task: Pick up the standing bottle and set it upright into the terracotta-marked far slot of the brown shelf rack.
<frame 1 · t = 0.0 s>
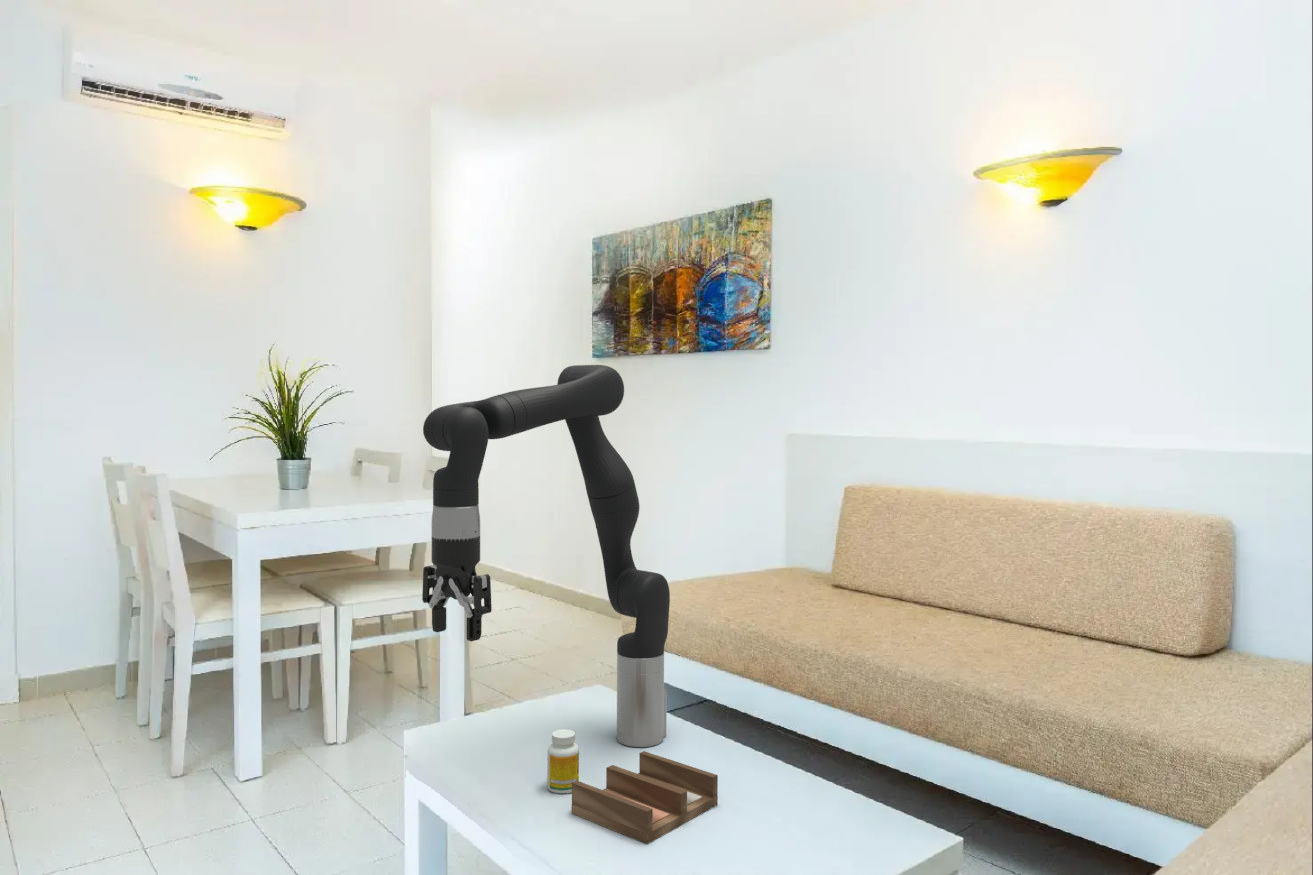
hand: (456, 635, 149), 29 cm above the table, fingers open, 8 cm apart
supplement bottle: (563, 789, 162), on the table
brown shelf rack: (645, 809, 154), on the table
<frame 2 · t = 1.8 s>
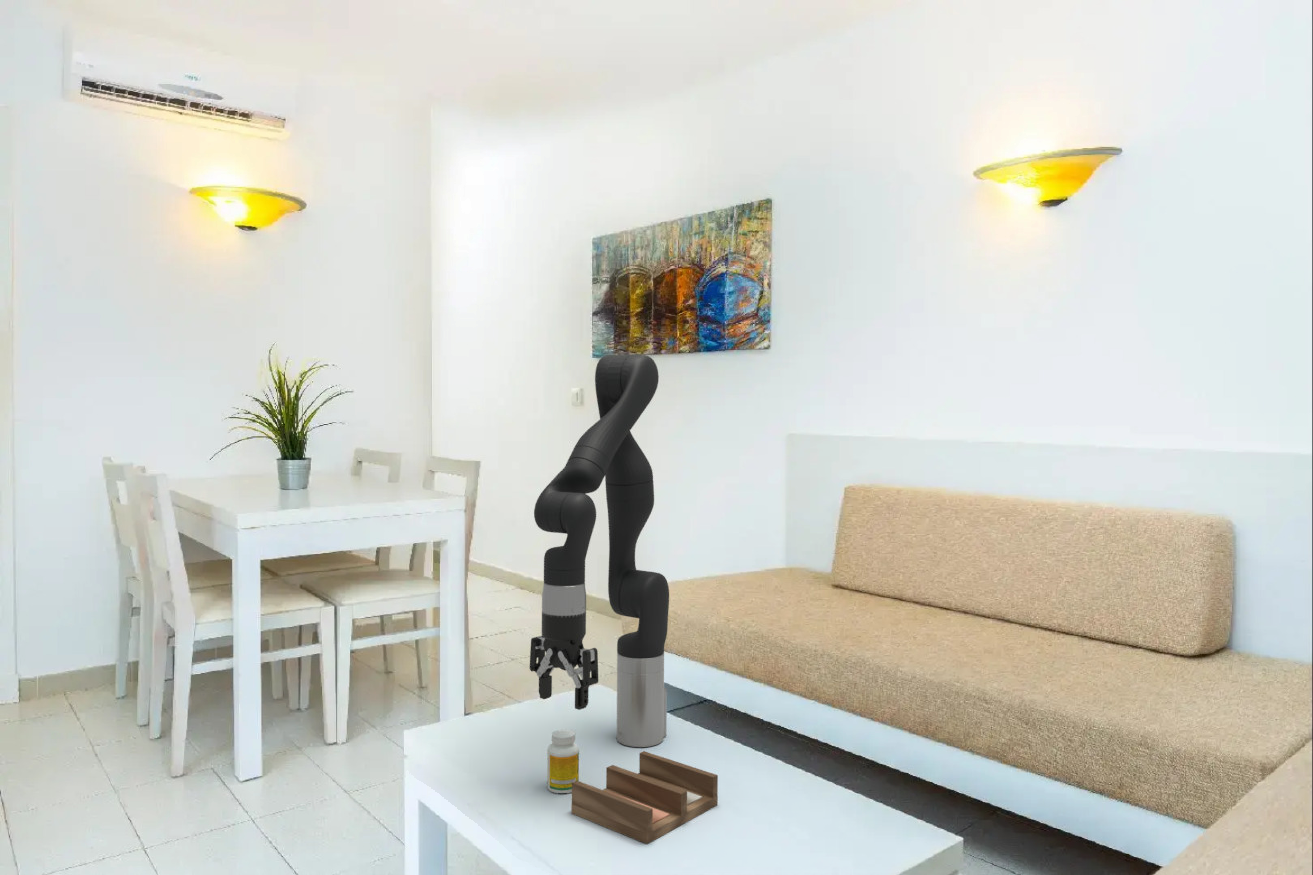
hand: (562, 703, 161), 15 cm above the table, fingers open, 8 cm apart
nothing on the table moved.
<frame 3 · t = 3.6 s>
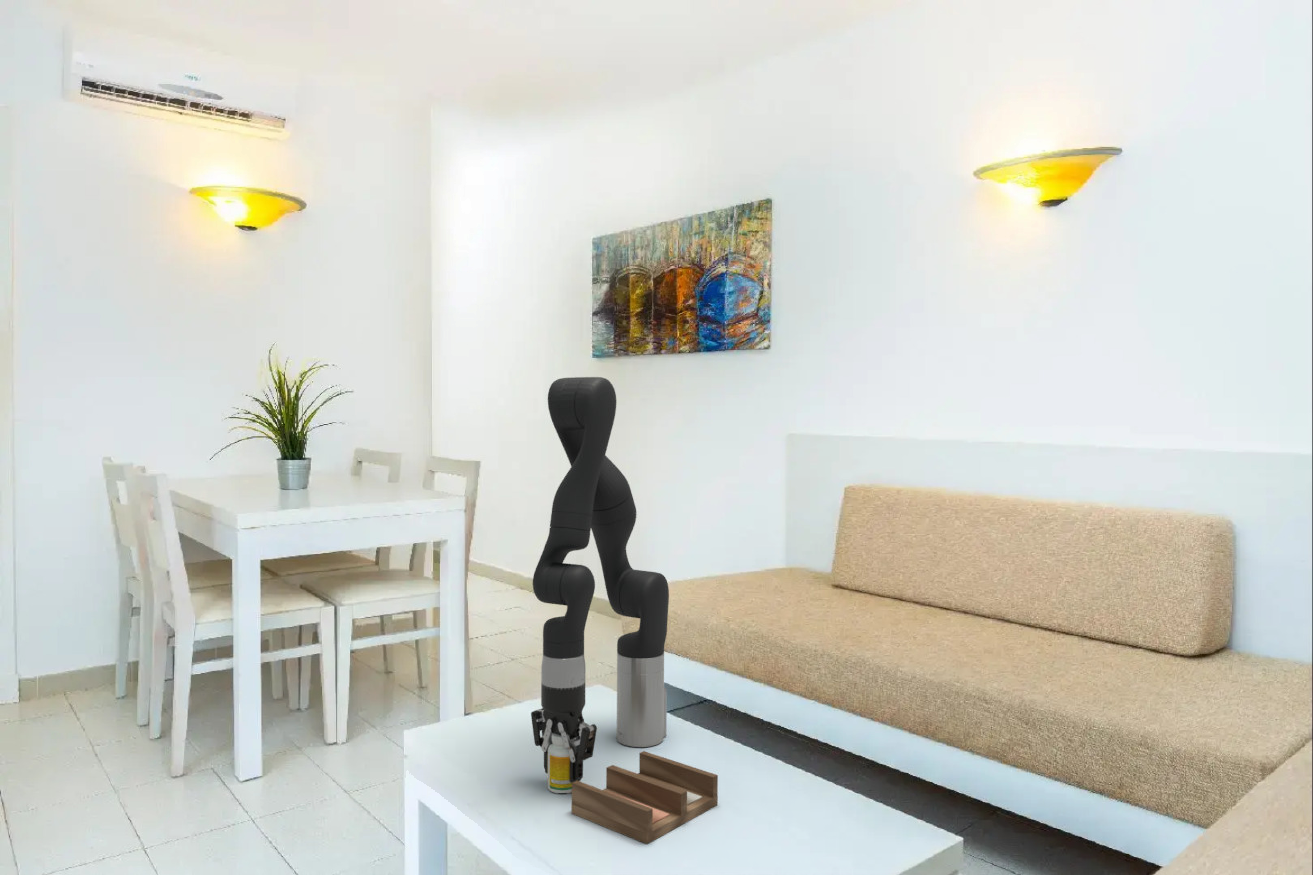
hand: (562, 776, 162), 2 cm above the table, fingers closed on supplement bottle, 5 cm apart
supplement bottle: (563, 789, 162), on the table, touching gripper
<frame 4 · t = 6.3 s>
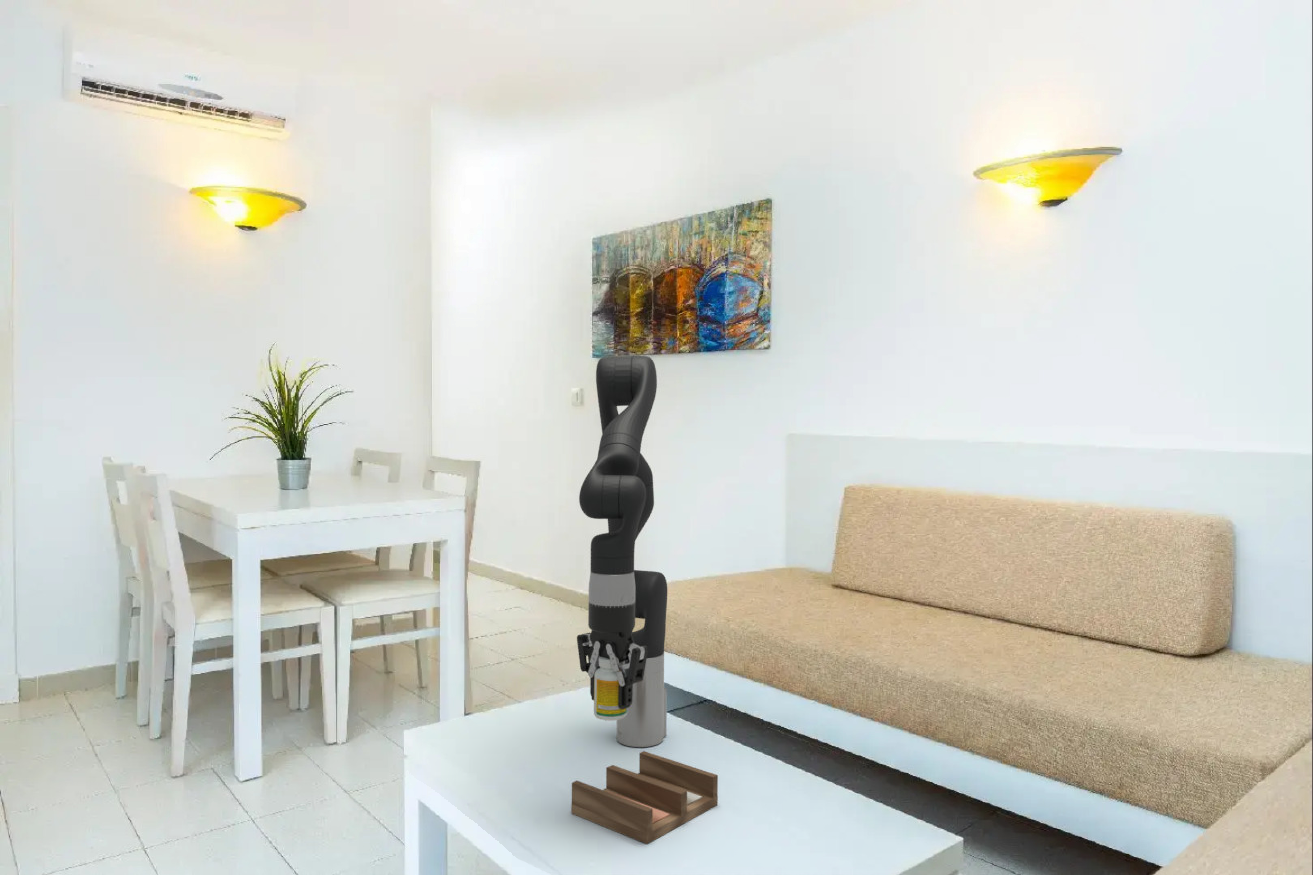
hand: (610, 703, 152), 18 cm above the table, fingers closed on supplement bottle, 5 cm apart
supplement bottle: (610, 717, 152), point 16 cm above the table, touching gripper
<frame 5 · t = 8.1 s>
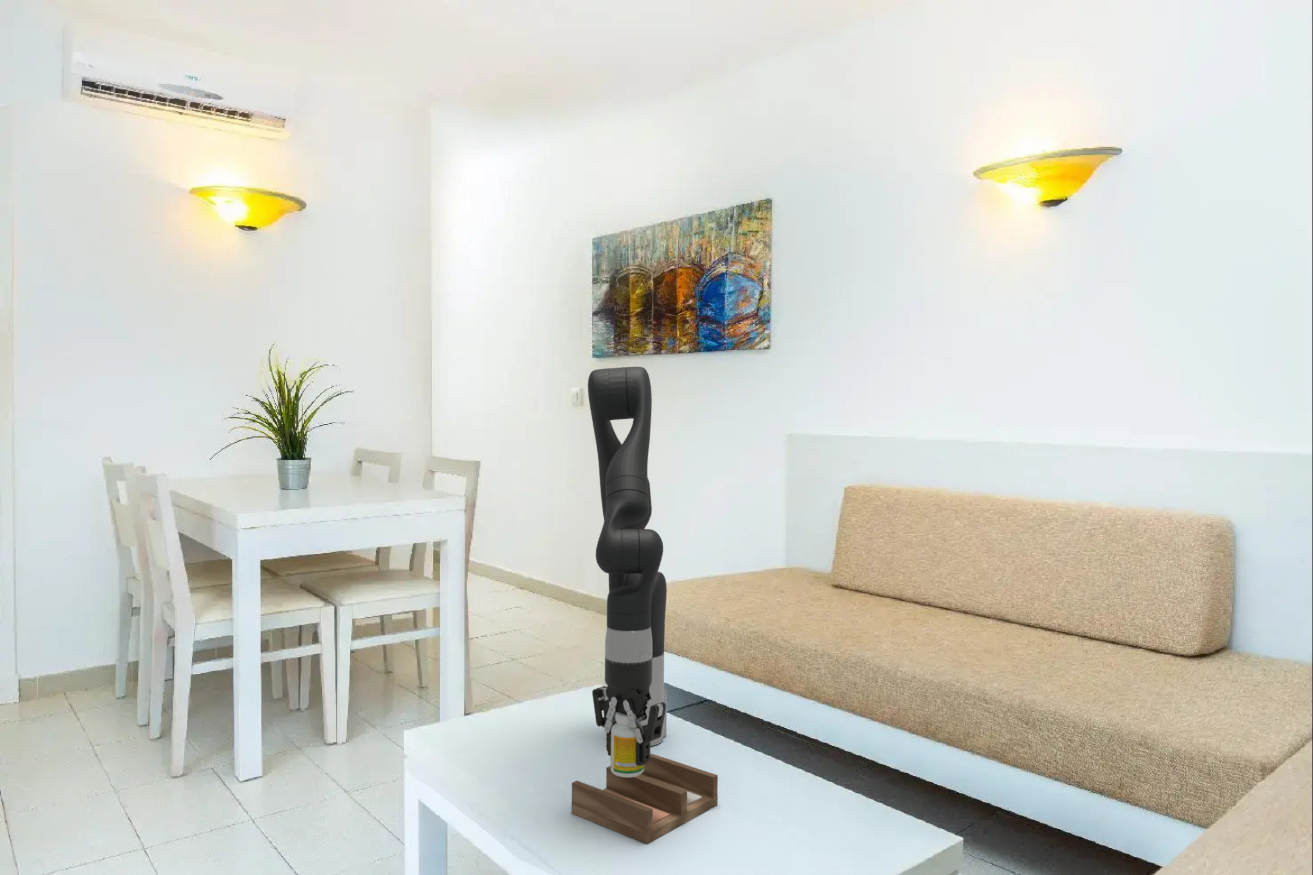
hand: (627, 759, 150), 10 cm above the table, fingers closed on supplement bottle, 5 cm apart
supplement bottle: (627, 772, 150), point 7 cm above the table, touching gripper
when the fingers open (5 cm above the table, at t = 9.5 s): supplement bottle stays where it is, resting on brown shelf rack.
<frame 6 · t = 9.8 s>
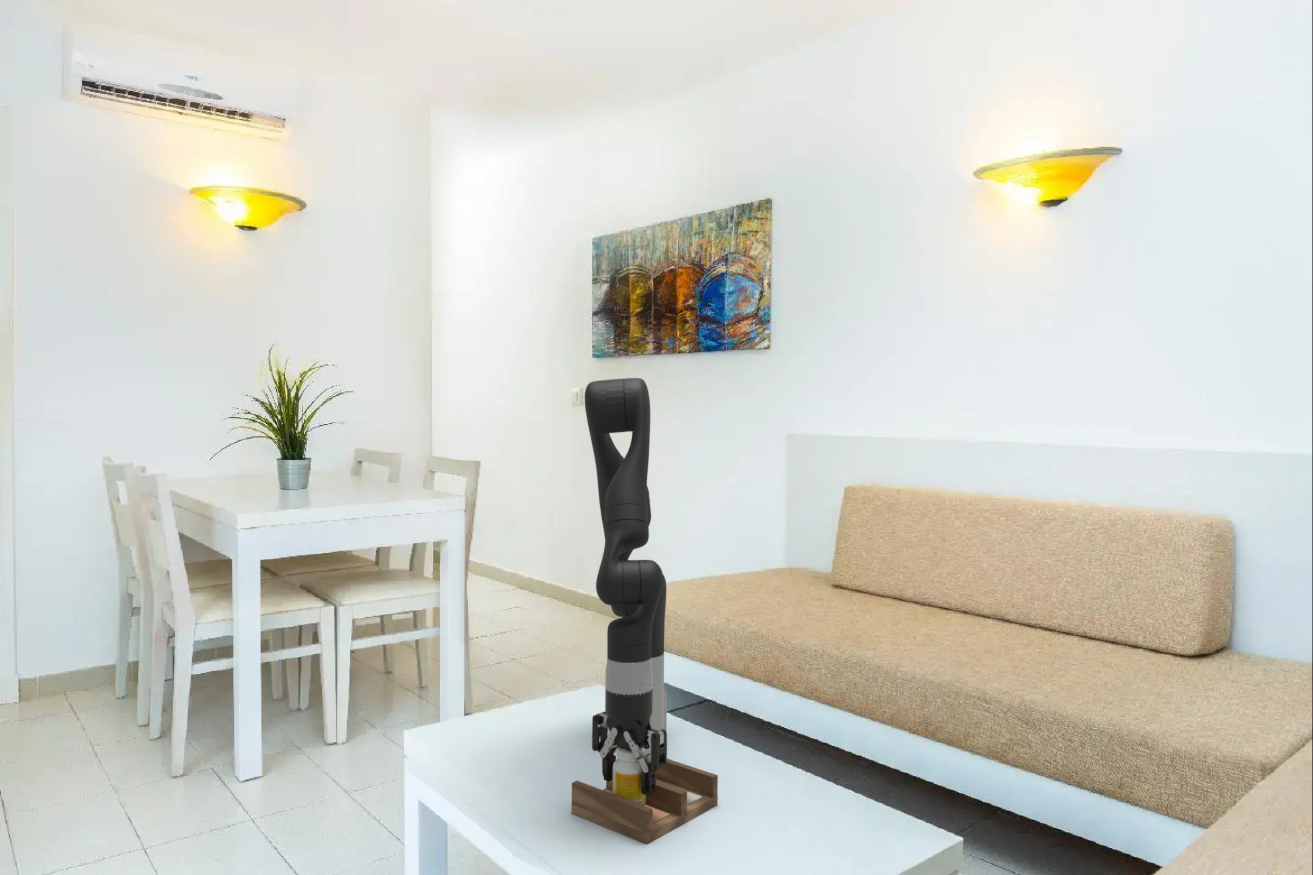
hand: (628, 786, 150), 5 cm above the table, fingers open, 7 cm apart
supplement bottle: (628, 808, 150), point 2 cm above the table, touching brown shelf rack
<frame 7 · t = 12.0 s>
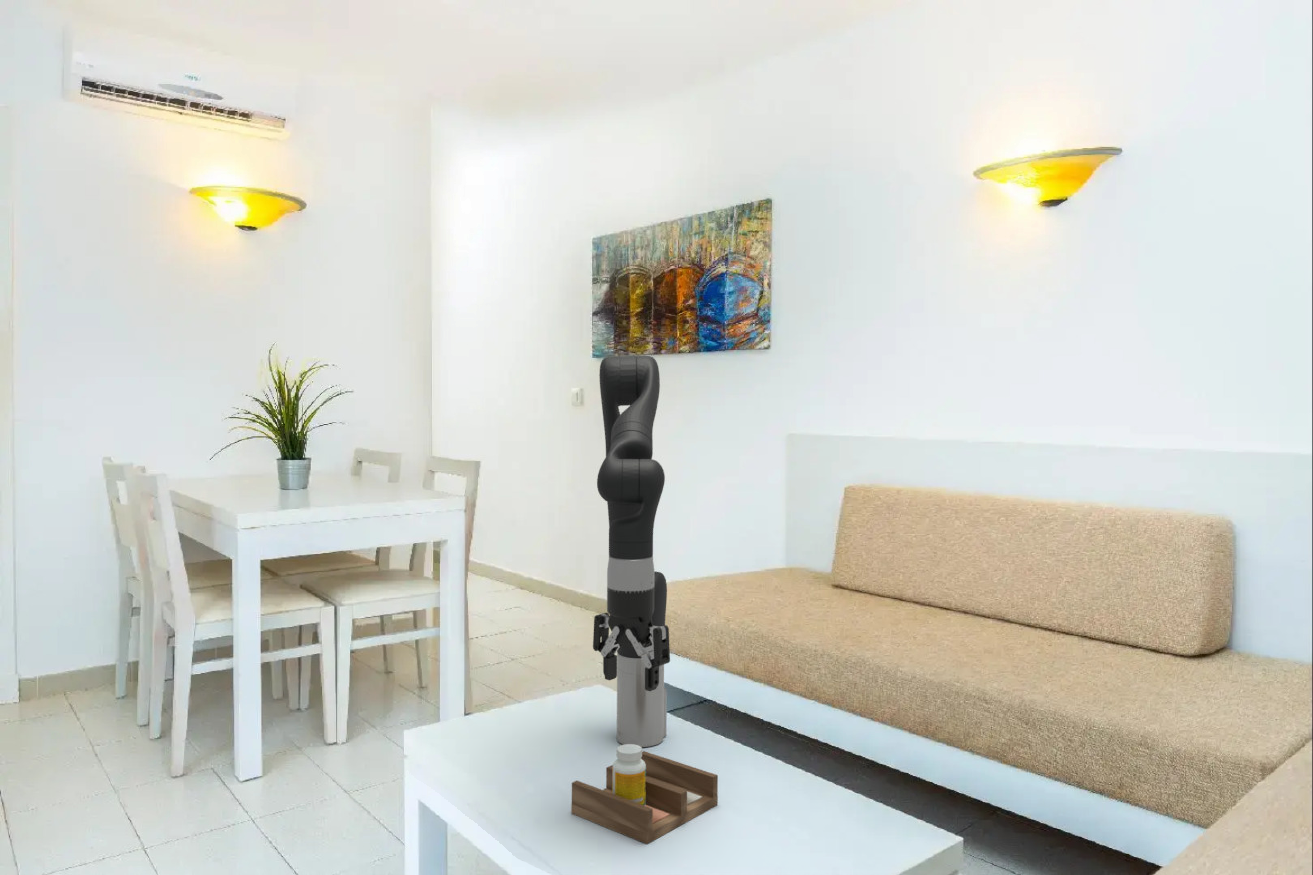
hand: (630, 684, 151), 21 cm above the table, fingers open, 8 cm apart
nothing on the table moved.
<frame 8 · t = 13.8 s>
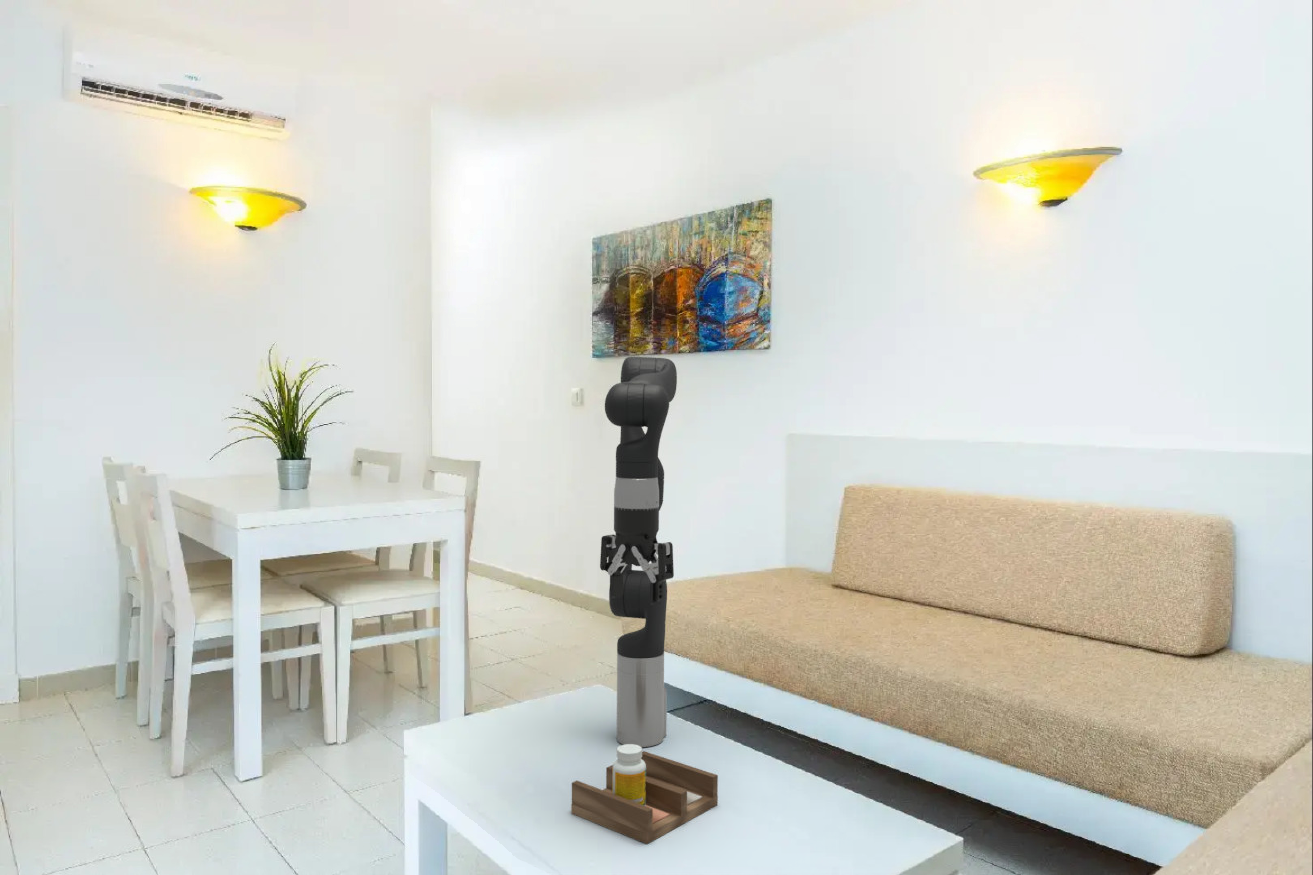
hand: (635, 600, 158), 33 cm above the table, fingers open, 8 cm apart
nothing on the table moved.
at the end: supplement bottle inside the target area on the brown shelf rack (0.1 cm from its centre), point 1.5 cm above the brown shelf rack's base; supplement bottle tilted 0°; the gripper is holding nothing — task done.
